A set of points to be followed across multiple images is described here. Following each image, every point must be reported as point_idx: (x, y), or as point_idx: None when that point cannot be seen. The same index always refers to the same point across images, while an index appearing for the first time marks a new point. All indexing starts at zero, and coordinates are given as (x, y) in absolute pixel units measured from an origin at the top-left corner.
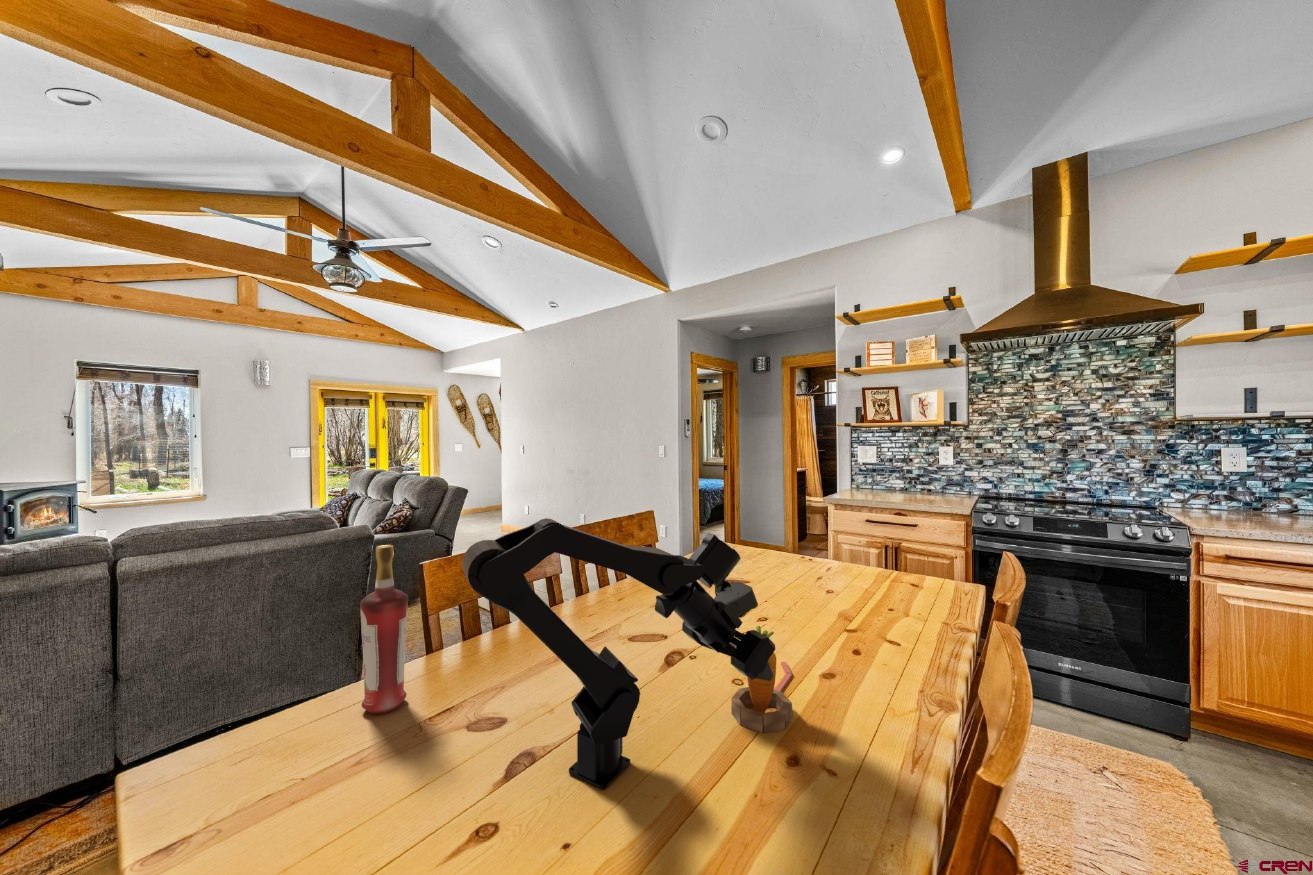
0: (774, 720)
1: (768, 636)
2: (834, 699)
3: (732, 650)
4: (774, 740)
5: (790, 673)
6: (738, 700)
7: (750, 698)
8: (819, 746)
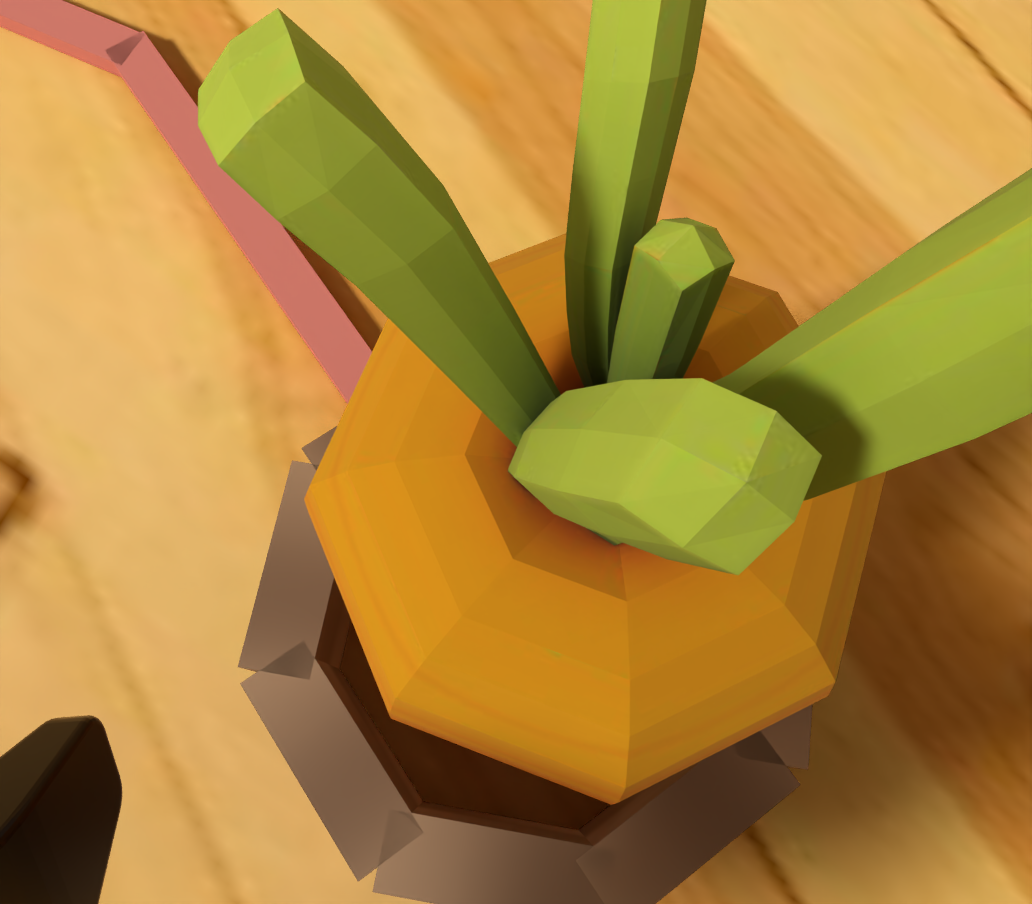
0: None
1: (672, 127)
2: (565, 11)
3: (50, 884)
4: (873, 743)
5: (137, 42)
6: (442, 839)
7: (343, 608)
8: (1026, 472)
